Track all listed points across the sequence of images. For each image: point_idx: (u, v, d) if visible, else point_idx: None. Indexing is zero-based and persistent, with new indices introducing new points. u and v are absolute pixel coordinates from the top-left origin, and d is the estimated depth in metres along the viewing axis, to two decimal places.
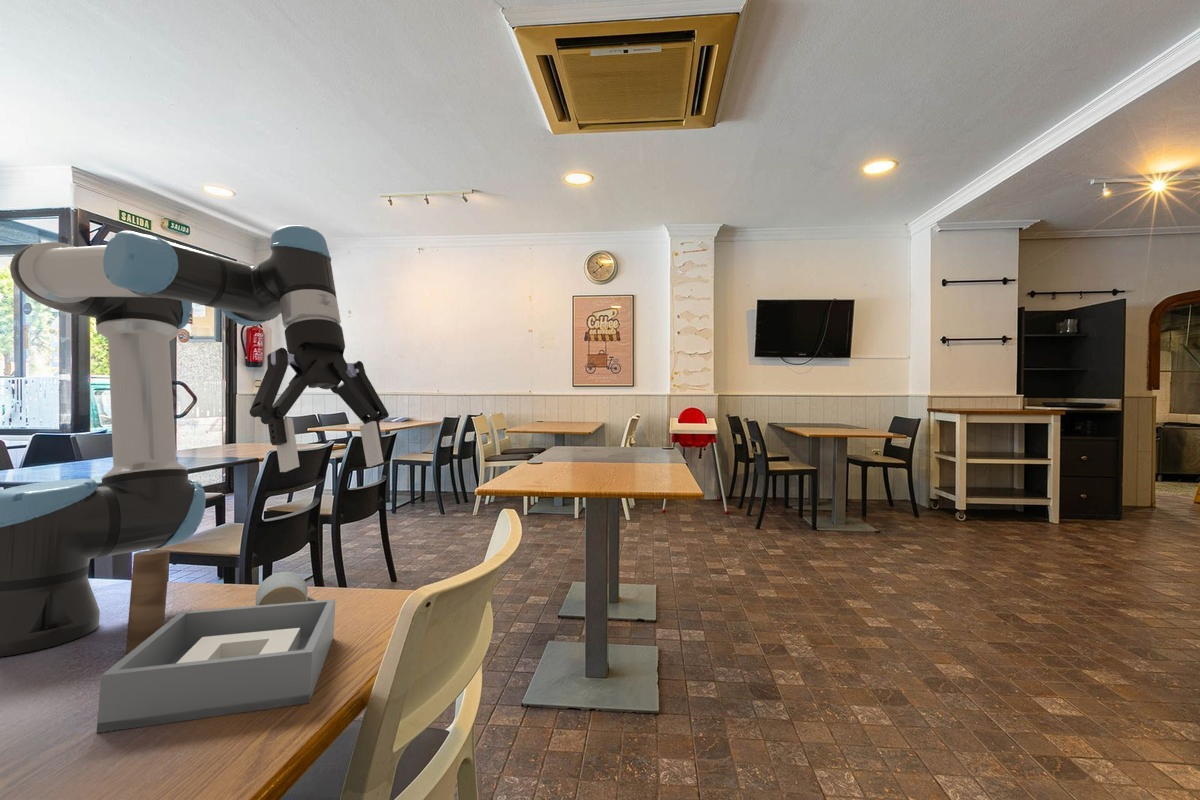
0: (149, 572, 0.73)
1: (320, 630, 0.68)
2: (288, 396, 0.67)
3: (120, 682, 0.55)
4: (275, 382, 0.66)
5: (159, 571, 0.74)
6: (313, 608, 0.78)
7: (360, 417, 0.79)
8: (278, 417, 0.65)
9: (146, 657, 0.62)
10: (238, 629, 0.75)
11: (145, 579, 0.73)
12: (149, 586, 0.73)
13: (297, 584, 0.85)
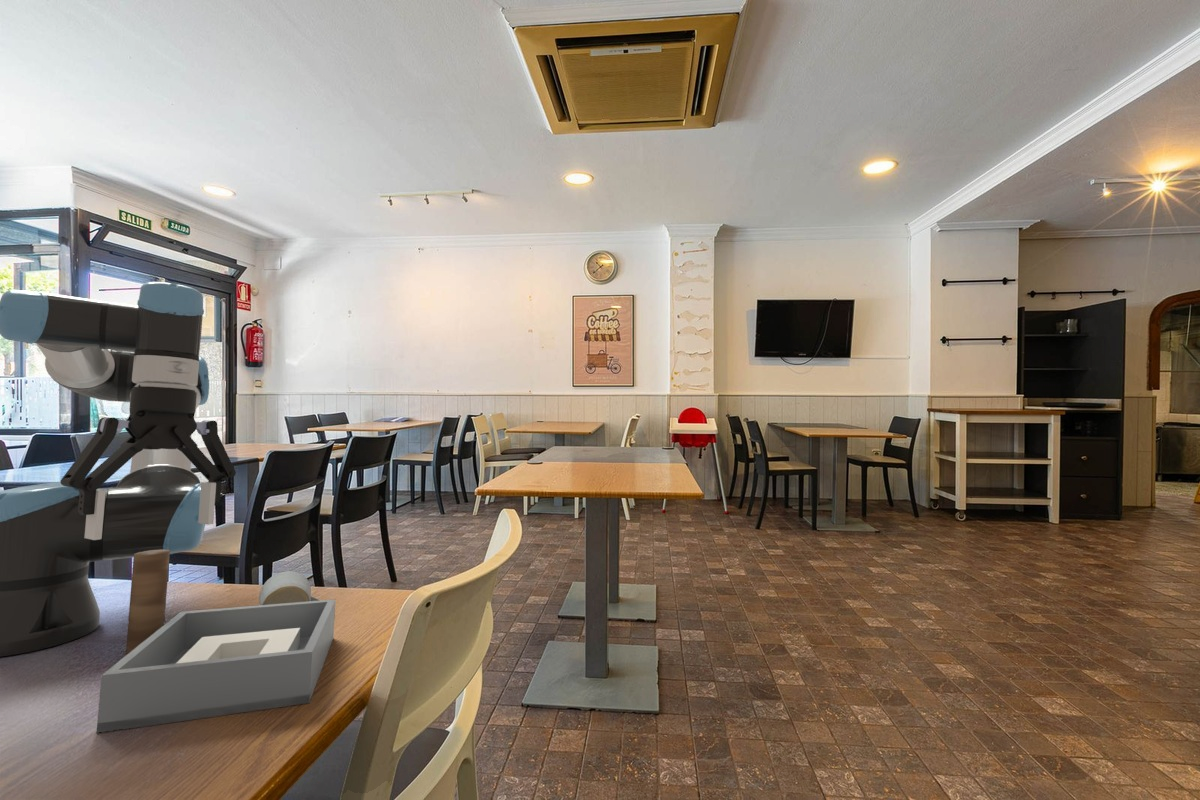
0: (149, 572, 0.73)
1: (320, 630, 0.68)
2: (107, 468, 0.69)
3: (120, 682, 0.55)
4: (93, 455, 0.68)
5: (159, 571, 0.74)
6: (313, 608, 0.78)
7: (203, 474, 0.81)
8: (89, 490, 0.68)
9: (146, 657, 0.62)
10: (238, 629, 0.75)
11: (145, 579, 0.73)
12: (149, 586, 0.73)
13: (300, 584, 0.86)
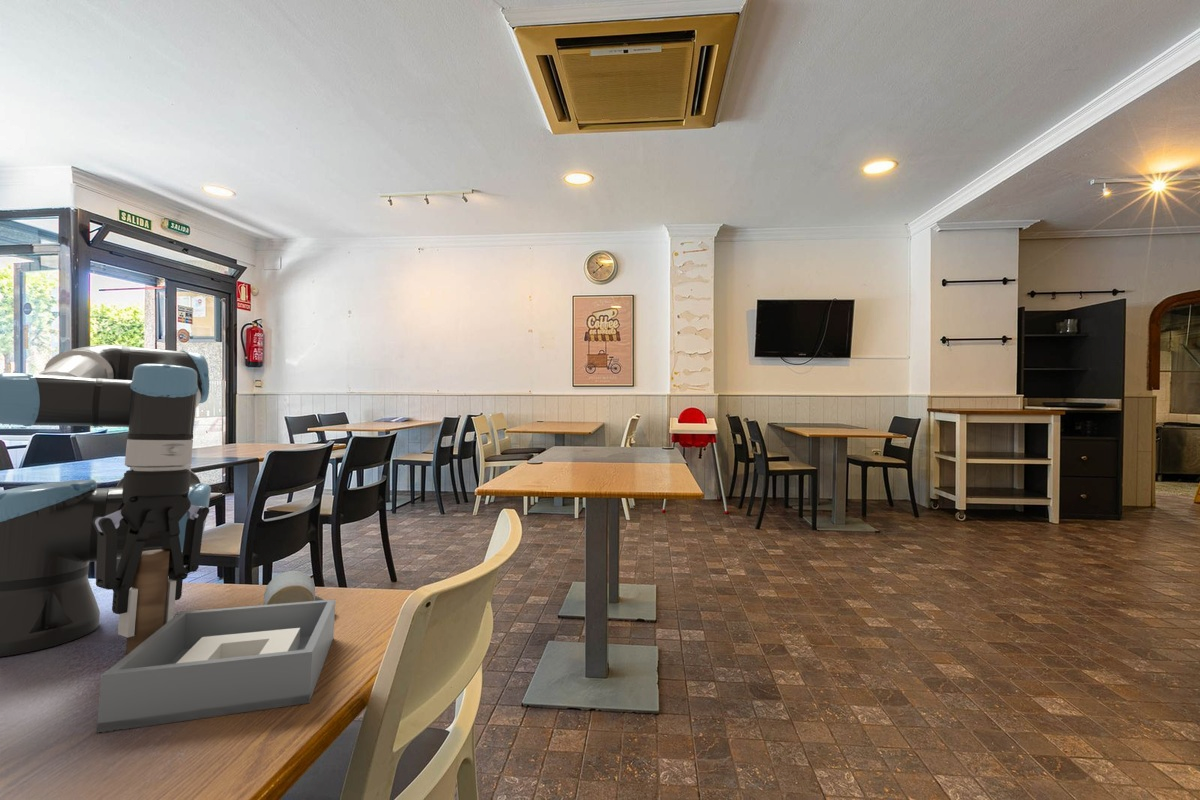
0: (149, 571, 0.73)
1: (320, 630, 0.68)
2: (128, 566, 0.71)
3: (120, 682, 0.55)
4: (110, 557, 0.69)
5: (159, 571, 0.74)
6: (313, 608, 0.78)
7: None
8: (125, 590, 0.71)
9: (146, 657, 0.62)
10: (238, 629, 0.75)
11: (145, 579, 0.73)
12: (150, 585, 0.73)
13: (305, 583, 0.86)
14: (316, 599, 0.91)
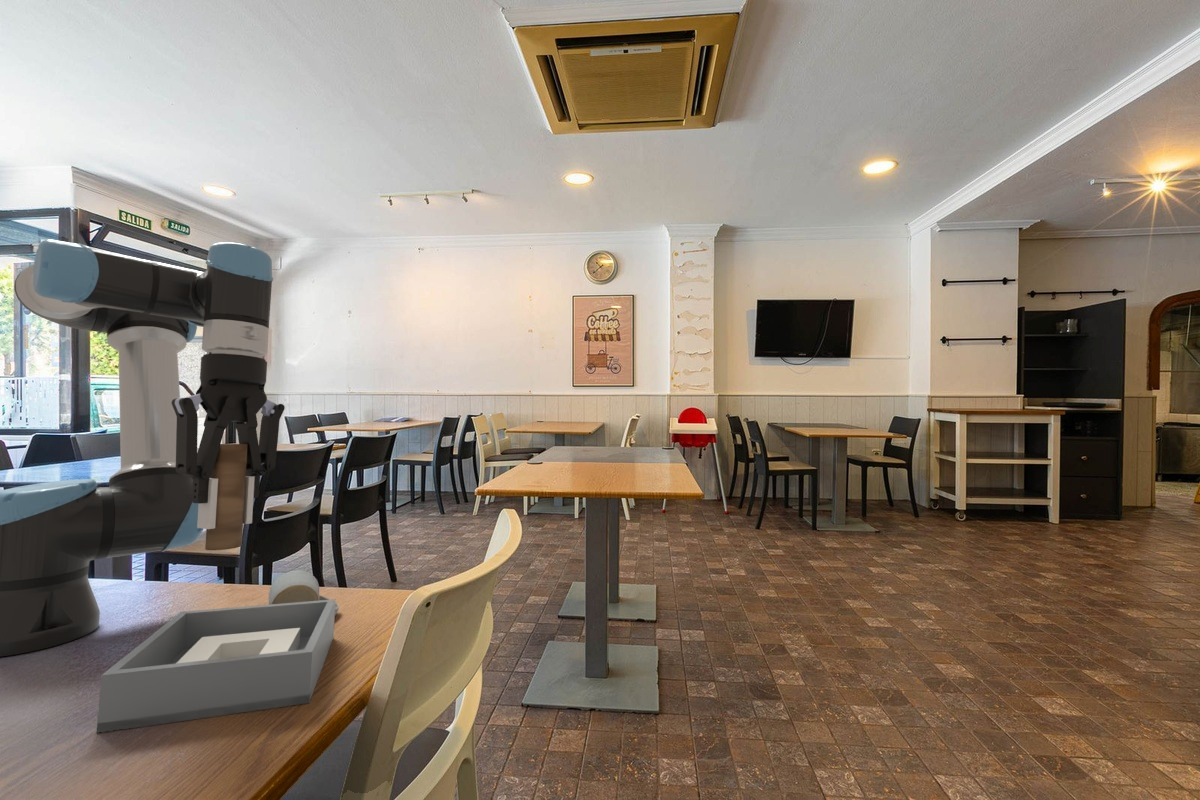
0: (229, 461, 0.68)
1: (320, 630, 0.68)
2: (208, 453, 0.67)
3: (120, 682, 0.55)
4: (191, 440, 0.65)
5: (238, 462, 0.69)
6: (313, 608, 0.78)
7: None
8: (205, 478, 0.66)
9: (146, 657, 0.62)
10: (238, 629, 0.75)
11: (225, 469, 0.68)
12: (229, 476, 0.68)
13: (309, 582, 0.86)
14: (320, 598, 0.91)
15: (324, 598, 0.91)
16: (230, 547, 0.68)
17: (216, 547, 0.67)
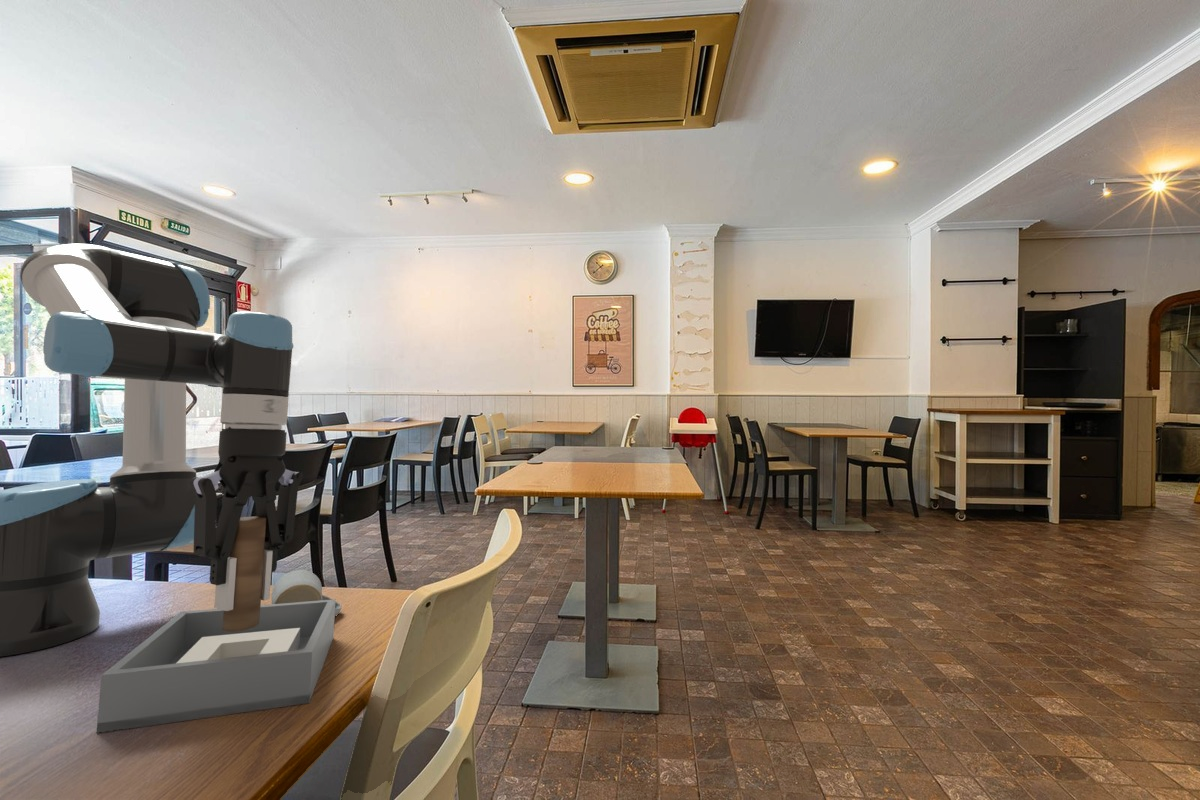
0: (247, 539, 0.66)
1: (320, 630, 0.68)
2: (227, 533, 0.65)
3: (120, 682, 0.55)
4: (210, 521, 0.63)
5: (257, 539, 0.67)
6: (313, 608, 0.78)
7: None
8: (224, 559, 0.65)
9: (146, 657, 0.62)
10: None
11: (244, 547, 0.66)
12: (248, 554, 0.66)
13: (312, 582, 0.86)
14: (323, 598, 0.91)
15: (327, 598, 0.91)
16: (248, 627, 0.66)
17: (234, 628, 0.65)
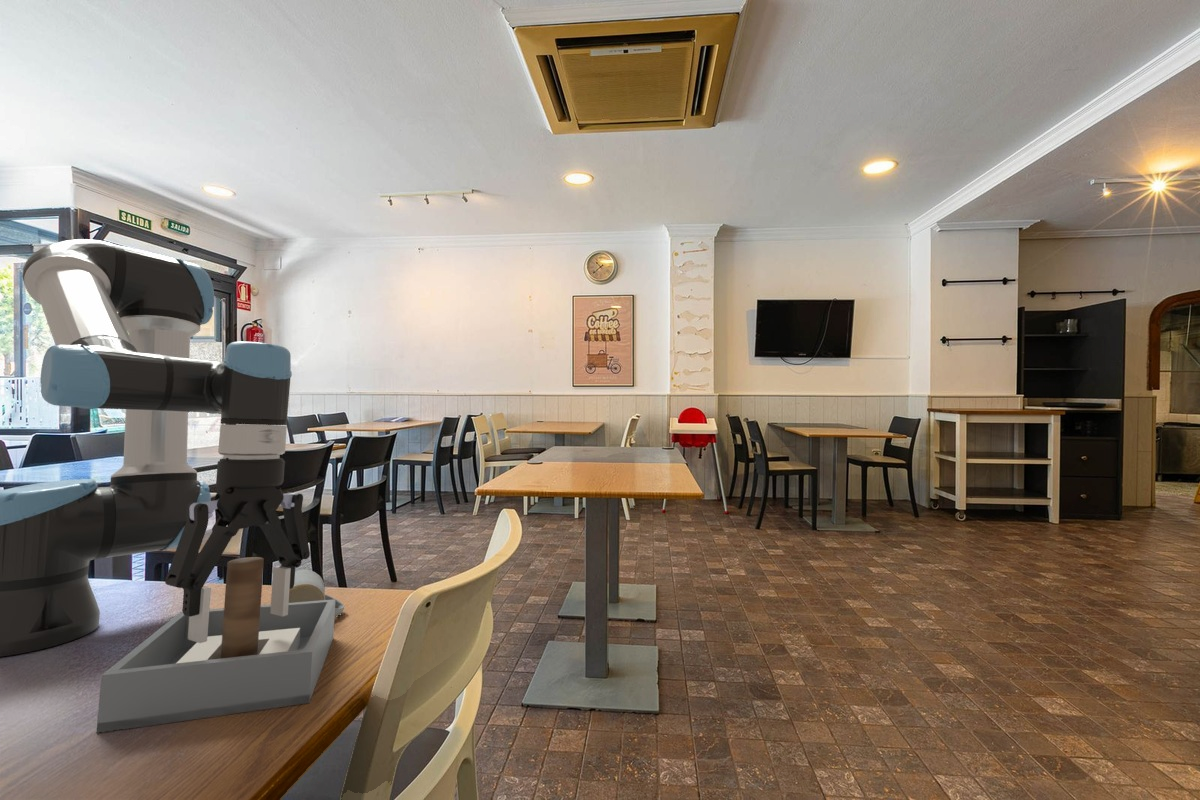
0: (245, 582, 0.66)
1: (320, 630, 0.68)
2: (207, 561, 0.63)
3: (120, 682, 0.55)
4: (192, 549, 0.61)
5: (254, 581, 0.67)
6: (313, 608, 0.78)
7: (277, 556, 0.73)
8: (196, 589, 0.62)
9: (146, 657, 0.62)
10: None
11: (241, 590, 0.66)
12: (246, 597, 0.66)
13: (315, 582, 0.87)
14: (326, 598, 0.91)
15: (329, 597, 0.92)
16: None
17: None
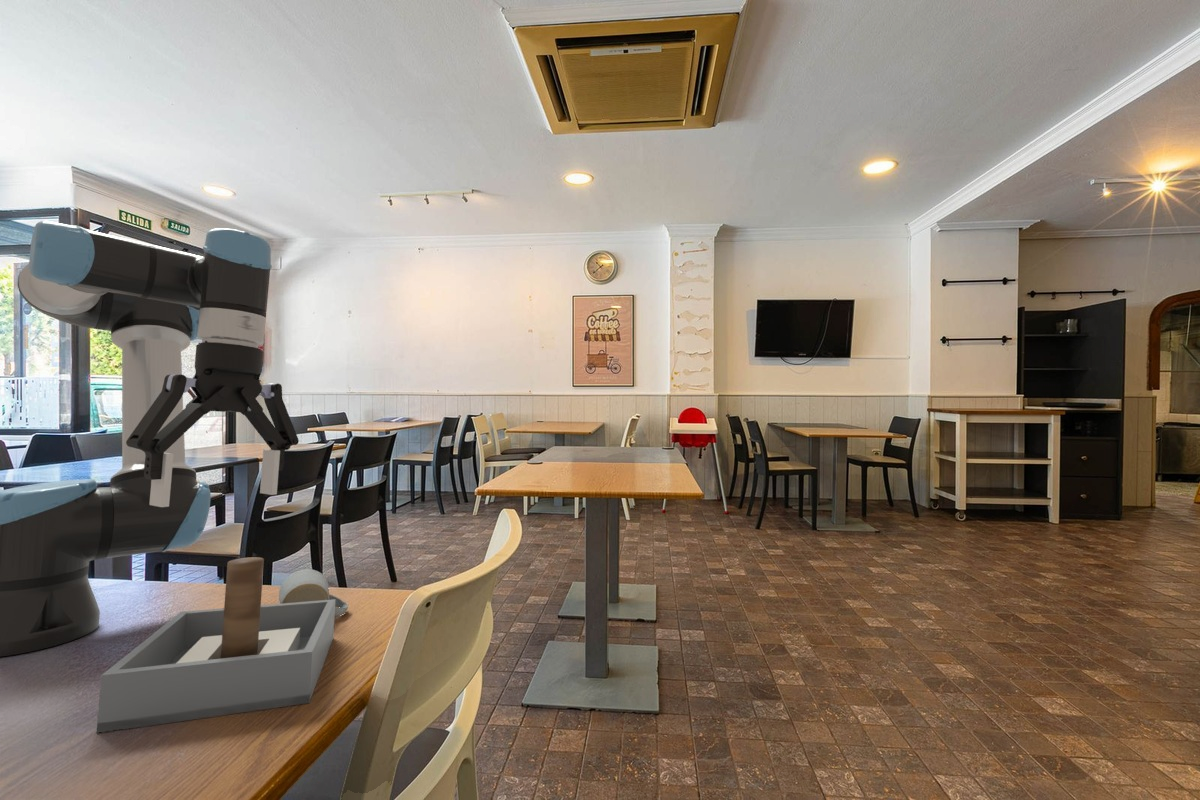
0: (245, 582, 0.66)
1: (320, 630, 0.68)
2: (175, 429, 0.63)
3: (120, 682, 0.55)
4: (162, 414, 0.62)
5: (254, 582, 0.67)
6: (313, 608, 0.78)
7: (266, 440, 0.76)
8: (156, 452, 0.62)
9: (146, 657, 0.62)
10: None
11: (241, 590, 0.66)
12: (246, 597, 0.66)
13: (319, 581, 0.87)
14: (330, 597, 0.92)
15: (333, 597, 0.92)
16: None
17: None
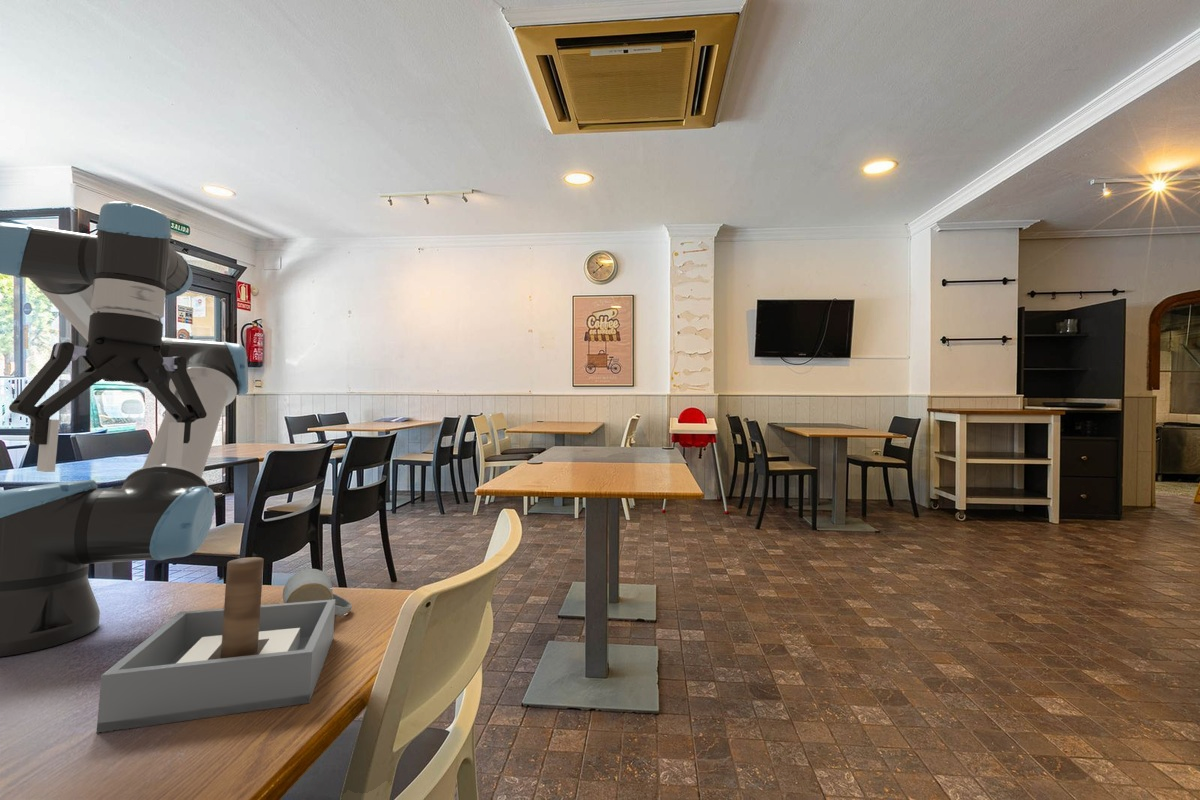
0: (245, 582, 0.66)
1: (320, 630, 0.68)
2: (61, 396, 0.64)
3: (120, 682, 0.55)
4: (46, 380, 0.63)
5: (254, 582, 0.67)
6: (313, 608, 0.78)
7: (171, 413, 0.77)
8: (41, 418, 0.63)
9: (146, 657, 0.62)
10: None
11: (241, 591, 0.66)
12: (245, 598, 0.66)
13: (323, 581, 0.87)
14: (333, 597, 0.92)
15: (337, 596, 0.92)
16: None
17: None
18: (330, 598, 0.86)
